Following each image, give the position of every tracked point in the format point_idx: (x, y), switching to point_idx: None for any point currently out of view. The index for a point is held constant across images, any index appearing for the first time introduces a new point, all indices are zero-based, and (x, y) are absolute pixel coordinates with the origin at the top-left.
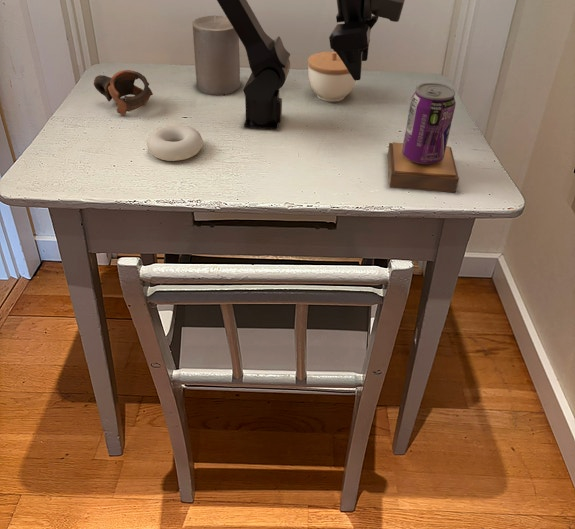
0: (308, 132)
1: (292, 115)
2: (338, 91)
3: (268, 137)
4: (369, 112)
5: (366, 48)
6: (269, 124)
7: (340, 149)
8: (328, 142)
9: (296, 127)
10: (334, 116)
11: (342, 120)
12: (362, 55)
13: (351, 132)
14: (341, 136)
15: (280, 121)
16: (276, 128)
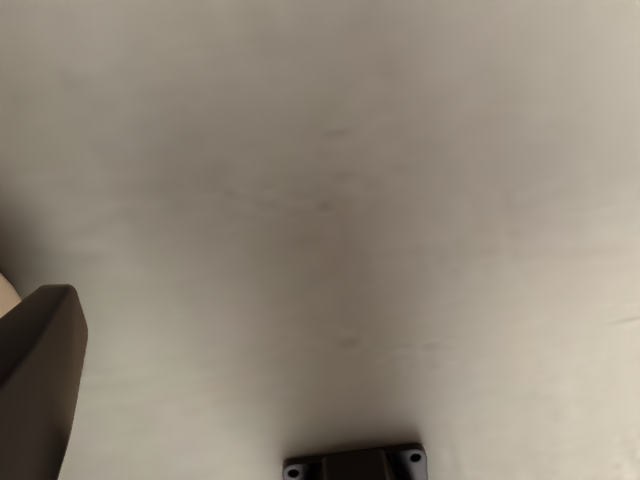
0: (410, 324)
1: (255, 417)
2: (9, 297)
3: (487, 449)
4: (52, 56)
5: (3, 410)
6: (407, 478)
7: (566, 154)
8: (498, 222)
9: (372, 378)
10: (194, 245)
11: (228, 197)
12: (64, 374)
13: (362, 128)
14: (421, 172)
15: (377, 451)
16: (420, 445)
